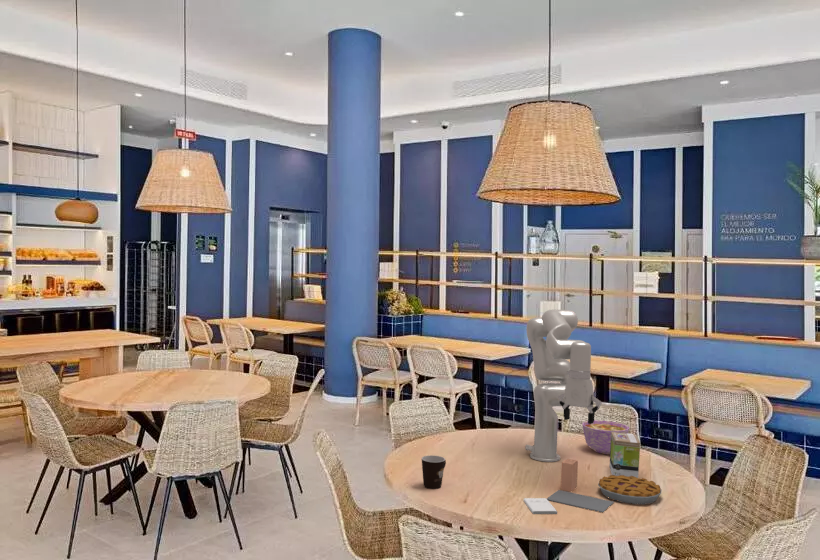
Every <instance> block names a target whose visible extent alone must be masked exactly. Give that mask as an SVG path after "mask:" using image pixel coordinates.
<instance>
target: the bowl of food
mask: <svg viewBox="0 0 820 560" xmlns="http://www.w3.org/2000/svg"><path fill="white" fill-rule="evenodd" d="M581 424H582V430H583V435H584V439H585V443H586V444H587V446H588V447H589V448H590V449H592V450H593V451H594V452H596V453H597V454H598V453H599V454H602V453H604V455H610V446H611V432H617V433H628V434H629V431H630V426H628V425H626V424H624V423H620V422H616V421H609V420H600V419H599V420H598V419H594V422H593V423H592V424H588V420H587V421H583V422H582V423H581Z"/></svg>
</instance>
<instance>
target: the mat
mask: <svg viewBox="0 0 820 560" xmlns="http://www.w3.org/2000/svg"><path fill="white" fill-rule="evenodd" d="M546 499H547V500H548V501H549V502H553V503H559V504H562V505H566V506H571V507H576V508H580V509H584V508H585V509H584V510H588V509H589V510H588V511H592V510H595V511H594V512H597V511H599V512H598V513H601V512H604V511H605V510H606V509H607V508H608V507H609V506H610V507H611V506H612V505H613V504H615V501H611V500H608V499H604V498H603V499H602V498H598V497H592V496H589V495H584V494H580V493H576V492H570V491H565V490H561V489H557V490H556V491H555V492H553V493H552V494H550V495H549V496H548V497H547V498H546ZM610 507H609V508H610ZM609 508H608V509H609ZM608 509H607V510H608ZM607 510H606V511H607ZM606 511H605V512H606ZM605 512H604V513H605Z"/></svg>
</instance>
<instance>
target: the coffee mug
mask: <svg viewBox="0 0 820 560" xmlns="http://www.w3.org/2000/svg"><path fill="white" fill-rule="evenodd" d="M446 464H447V462H446V458H445V457H444V456H440V455H433V454H432V455H424V456H422V457H421V466H422V467H421V469H422V480H423V482H422V483H423V487H424V488H426V489H429V490H436V489H441V488H442V485H443V484H442V483H443V477H444V469H445V467H446Z"/></svg>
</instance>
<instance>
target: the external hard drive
mask: <svg viewBox="0 0 820 560" xmlns="http://www.w3.org/2000/svg"><path fill="white" fill-rule="evenodd" d="M523 502H524V504H525V505H526V506H527V508H528V510H529V511H530V512H531V513H532V514H533V515H558V511H557V510H556V508H555V506H553V505H552V503H551V501H549V500H547V498H545V497H544V498H543V497H537V498H536V497H527V498H526V497H524V498H523Z"/></svg>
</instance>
